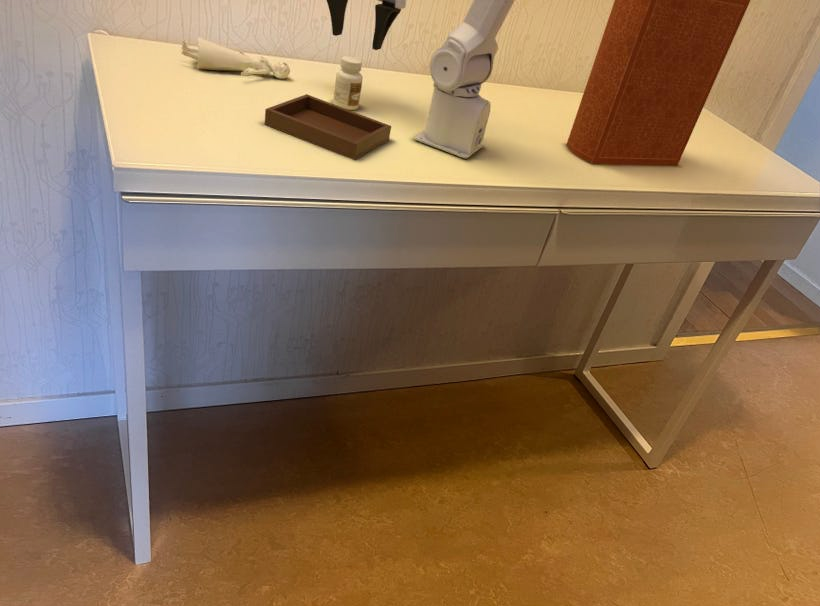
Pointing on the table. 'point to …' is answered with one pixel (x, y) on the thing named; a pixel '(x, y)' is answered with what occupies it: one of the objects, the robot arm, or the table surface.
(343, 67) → the pill bottle
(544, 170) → the table surface
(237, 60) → the woman figurine
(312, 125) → the tray
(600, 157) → the book
